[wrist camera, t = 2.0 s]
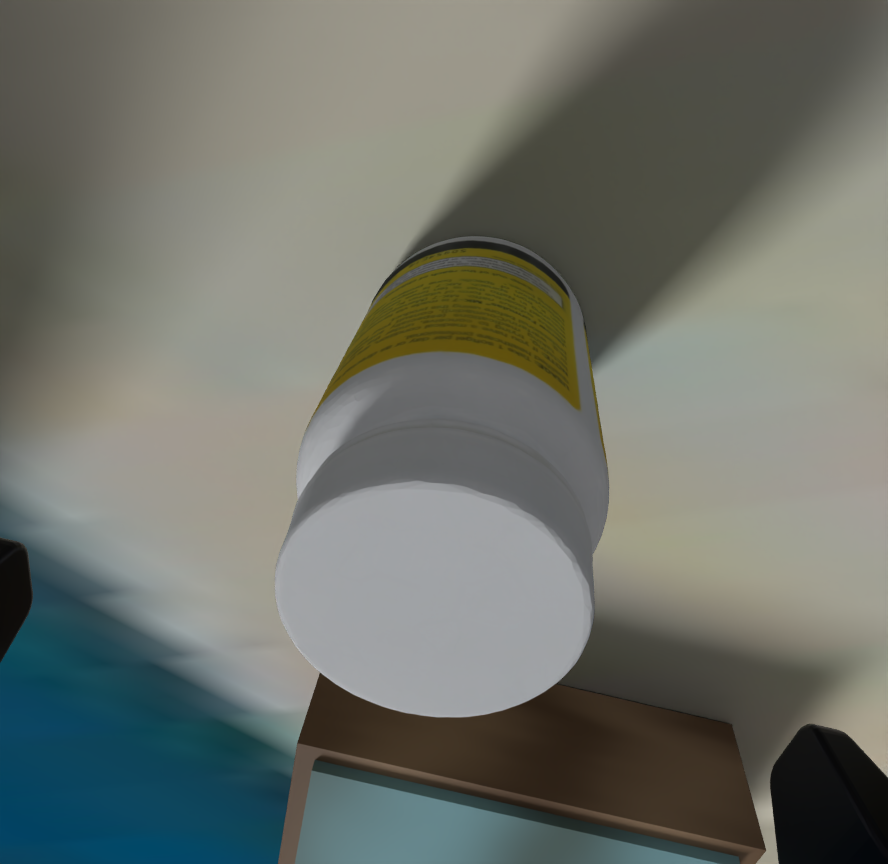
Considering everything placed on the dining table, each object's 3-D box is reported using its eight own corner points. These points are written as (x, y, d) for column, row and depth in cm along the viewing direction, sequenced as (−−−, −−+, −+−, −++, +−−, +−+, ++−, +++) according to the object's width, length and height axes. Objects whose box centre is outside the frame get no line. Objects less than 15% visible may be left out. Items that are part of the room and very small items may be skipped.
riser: (294, 852, 27) (259, 973, 24) (333, 632, 21) (293, 753, 18) (603, 922, 27) (612, 1053, 24) (731, 724, 21) (769, 862, 18)
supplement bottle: (330, 291, 16) (161, 528, 9) (528, 190, 14) (522, 376, 7) (435, 460, 18) (367, 770, 11) (619, 387, 16) (686, 691, 9)
